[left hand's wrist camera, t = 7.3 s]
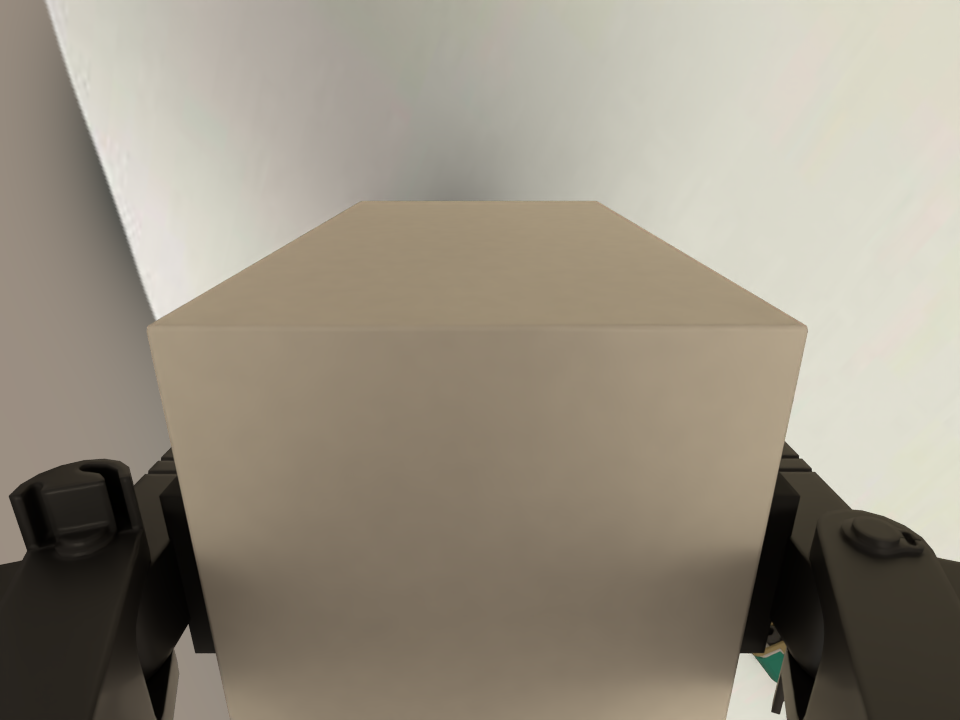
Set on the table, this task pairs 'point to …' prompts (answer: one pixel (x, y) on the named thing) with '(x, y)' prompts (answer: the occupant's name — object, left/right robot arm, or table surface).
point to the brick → (477, 466)
